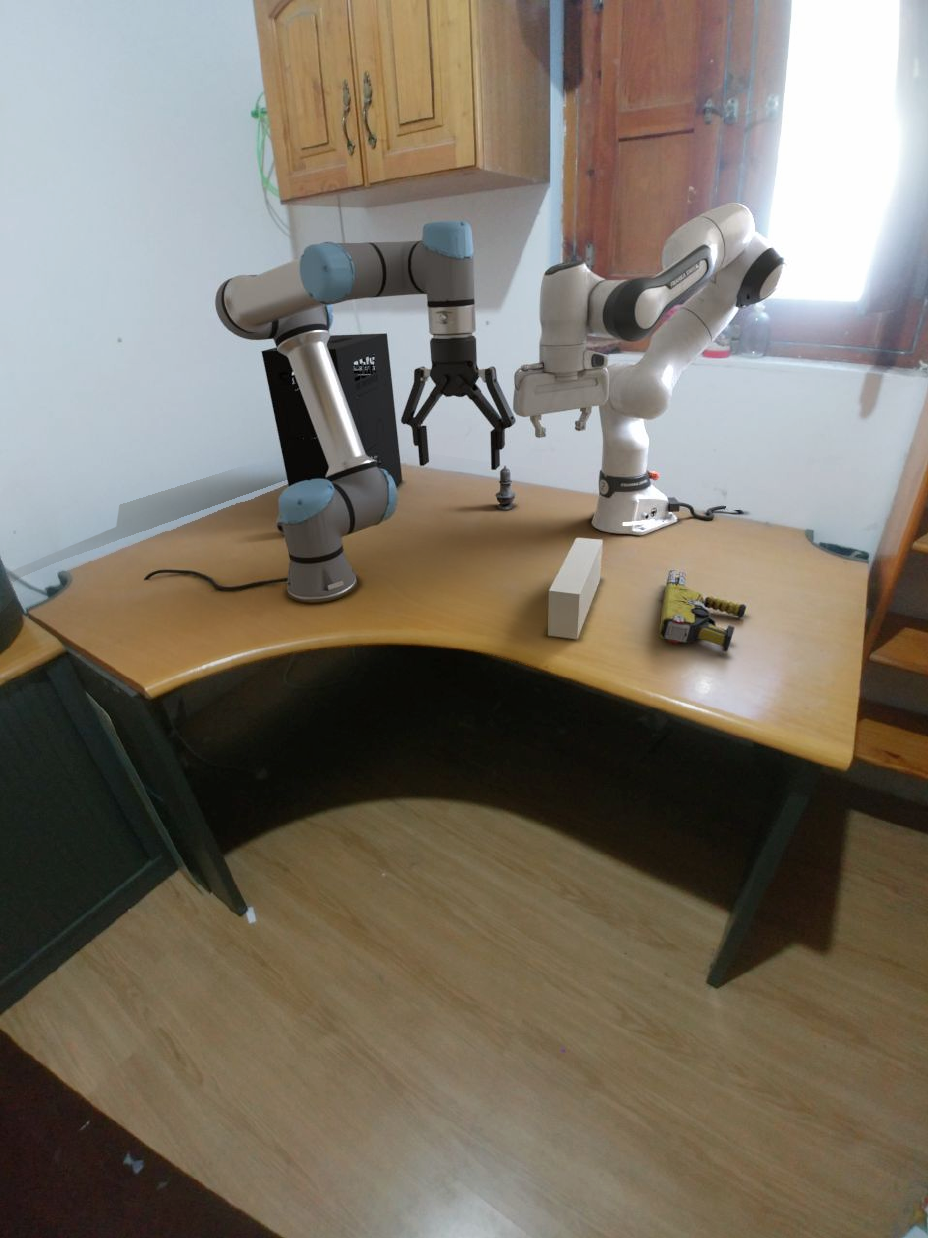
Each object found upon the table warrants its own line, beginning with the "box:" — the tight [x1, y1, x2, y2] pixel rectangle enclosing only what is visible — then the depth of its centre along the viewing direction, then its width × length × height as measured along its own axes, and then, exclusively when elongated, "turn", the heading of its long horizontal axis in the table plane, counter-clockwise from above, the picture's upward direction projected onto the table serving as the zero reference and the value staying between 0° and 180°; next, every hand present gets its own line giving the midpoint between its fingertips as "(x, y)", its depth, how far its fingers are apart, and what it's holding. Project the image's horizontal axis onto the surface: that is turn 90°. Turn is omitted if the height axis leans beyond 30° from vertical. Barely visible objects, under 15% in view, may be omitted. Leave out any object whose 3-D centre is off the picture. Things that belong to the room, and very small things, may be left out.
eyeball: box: [275, 515, 284, 535], centre depth 163 cm, size 6×6×6 cm
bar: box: [547, 537, 604, 640], centre depth 120 cm, size 25×6×10 cm, turn 160°
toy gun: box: [659, 569, 747, 652], centre depth 114 cm, size 5×24×15 cm
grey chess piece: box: [495, 465, 517, 511], centre depth 172 cm, size 6×6×12 cm
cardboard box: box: [260, 333, 403, 488], centre depth 177 cm, size 38×20×45 cm, turn 167°
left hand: (459, 465), depth 108 cm, fingers open, 13 cm apart
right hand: (560, 433), depth 122 cm, fingers open, 8 cm apart
